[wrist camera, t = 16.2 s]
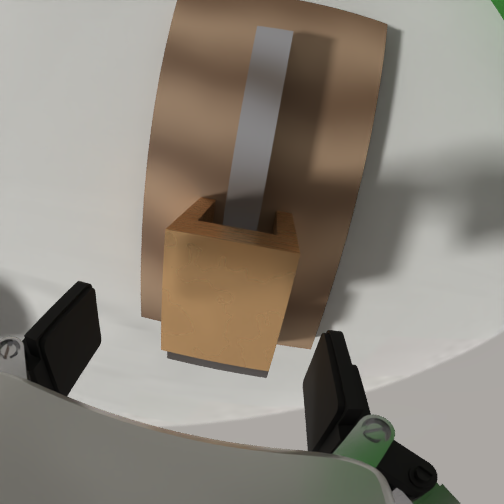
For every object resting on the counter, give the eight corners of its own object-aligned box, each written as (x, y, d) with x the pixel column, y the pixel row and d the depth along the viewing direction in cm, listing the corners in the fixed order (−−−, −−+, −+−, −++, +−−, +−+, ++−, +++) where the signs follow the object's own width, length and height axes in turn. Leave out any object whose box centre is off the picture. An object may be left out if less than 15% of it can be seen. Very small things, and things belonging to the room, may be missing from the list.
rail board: (185, -1, 16) (160, -34, 11) (380, 30, 16) (410, 4, 11) (147, 307, 25) (122, 345, 20) (309, 338, 25) (315, 383, 20)
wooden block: (201, 197, 20) (165, 229, 13) (291, 213, 20) (300, 254, 13) (190, 290, 22) (161, 349, 16) (271, 305, 22) (268, 371, 16)
